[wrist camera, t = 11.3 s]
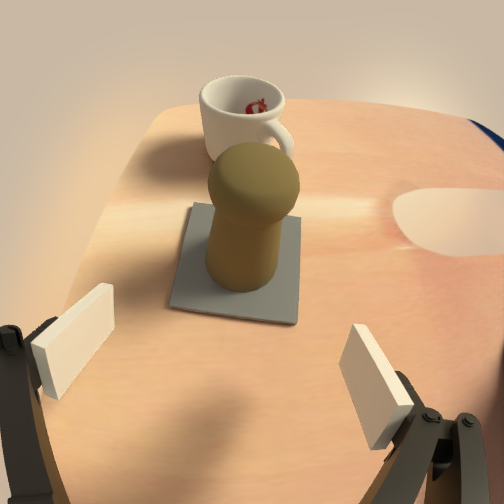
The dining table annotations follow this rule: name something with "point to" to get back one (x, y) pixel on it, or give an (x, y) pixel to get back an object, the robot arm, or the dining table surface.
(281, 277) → the coaster
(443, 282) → the dining table surface
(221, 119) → the cup
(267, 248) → the pepper mill
